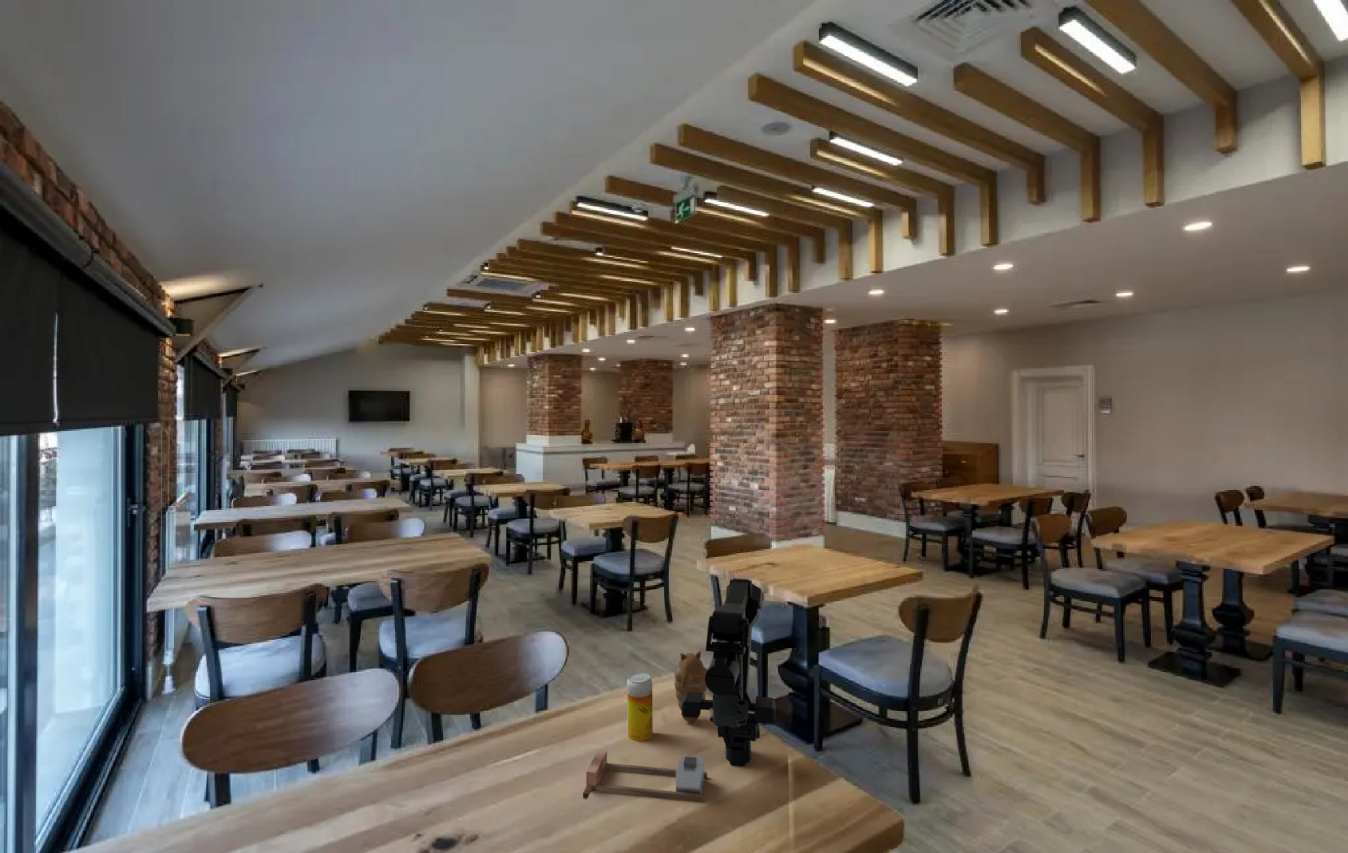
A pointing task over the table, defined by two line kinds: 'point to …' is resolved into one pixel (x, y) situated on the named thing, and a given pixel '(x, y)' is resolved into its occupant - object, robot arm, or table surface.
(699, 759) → the block
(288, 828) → the table surface
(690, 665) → the cat ice cream
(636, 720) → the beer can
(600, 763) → the guide board
